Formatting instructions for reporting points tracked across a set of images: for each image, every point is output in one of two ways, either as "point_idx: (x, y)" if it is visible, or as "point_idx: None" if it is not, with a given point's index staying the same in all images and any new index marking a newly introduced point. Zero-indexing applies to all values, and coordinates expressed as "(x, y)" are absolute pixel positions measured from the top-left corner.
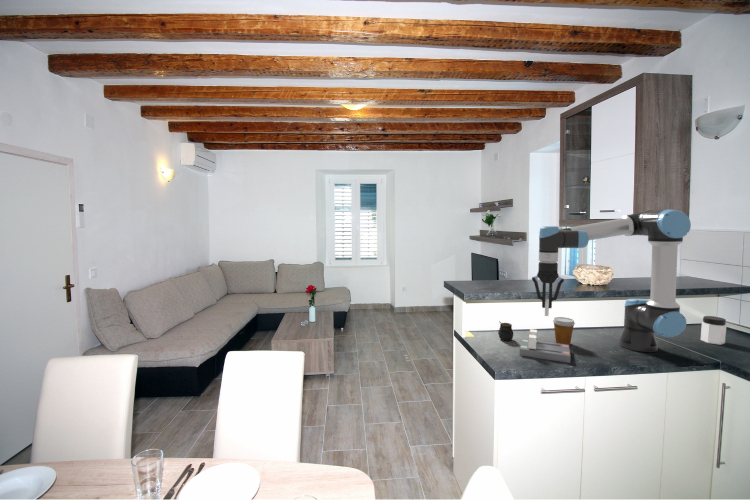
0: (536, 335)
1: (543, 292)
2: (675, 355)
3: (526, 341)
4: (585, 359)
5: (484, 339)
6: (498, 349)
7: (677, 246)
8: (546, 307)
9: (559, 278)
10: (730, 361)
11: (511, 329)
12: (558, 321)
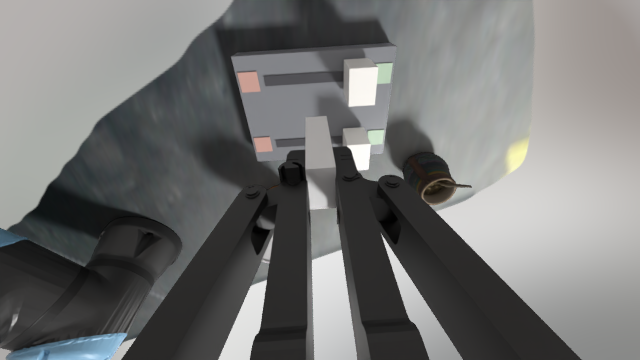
0: (346, 140)
1: (367, 228)
2: (69, 224)
3: (371, 133)
4: (208, 109)
5: (481, 139)
6: (454, 68)
7: None
8: (320, 142)
9: None
10: None
11: (416, 181)
12: None
